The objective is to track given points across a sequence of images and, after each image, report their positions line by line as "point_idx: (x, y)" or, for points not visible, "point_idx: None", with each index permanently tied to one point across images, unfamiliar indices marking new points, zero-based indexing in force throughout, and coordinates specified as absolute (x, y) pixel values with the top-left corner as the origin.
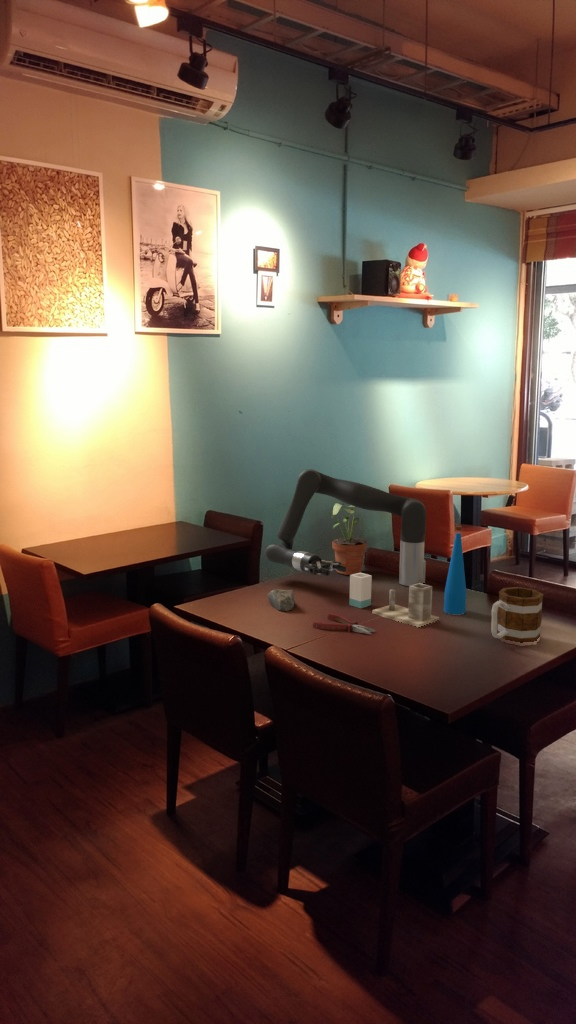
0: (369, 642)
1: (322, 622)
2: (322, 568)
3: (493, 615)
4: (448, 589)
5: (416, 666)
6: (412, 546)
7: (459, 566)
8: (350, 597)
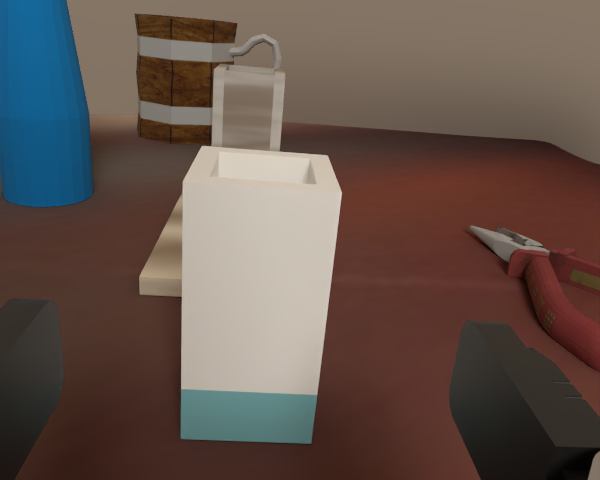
0: (534, 224)
1: None
2: (578, 418)
3: (280, 67)
4: (79, 98)
5: (496, 168)
6: None
7: None
8: (316, 380)
